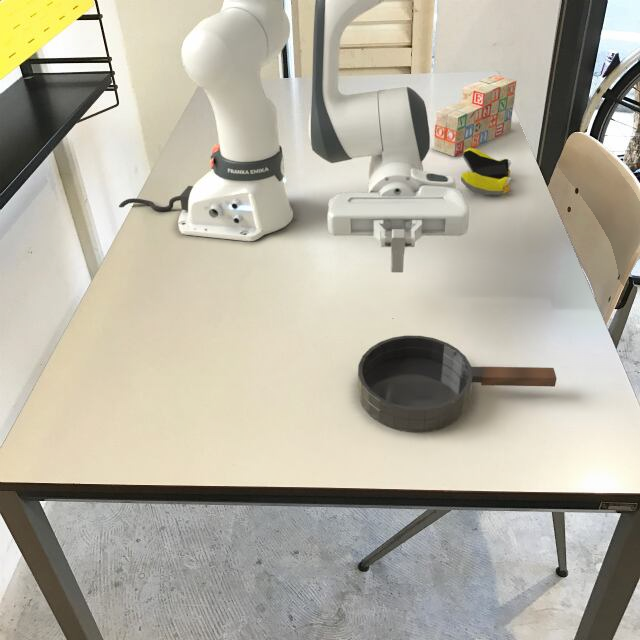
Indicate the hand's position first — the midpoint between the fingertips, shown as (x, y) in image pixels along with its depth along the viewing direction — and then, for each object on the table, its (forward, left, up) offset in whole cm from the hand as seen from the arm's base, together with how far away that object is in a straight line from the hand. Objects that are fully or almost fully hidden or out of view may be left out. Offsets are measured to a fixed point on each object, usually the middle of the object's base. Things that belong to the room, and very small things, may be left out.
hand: (398, 242), depth 96 cm
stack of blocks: (+19, +76, -17) cm, 80 cm away
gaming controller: (+19, +52, -17) cm, 58 cm away
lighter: (0, +1, -5) cm, 5 cm away
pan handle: (+15, -12, -14) cm, 24 cm away
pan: (+2, -12, -17) cm, 21 cm away
